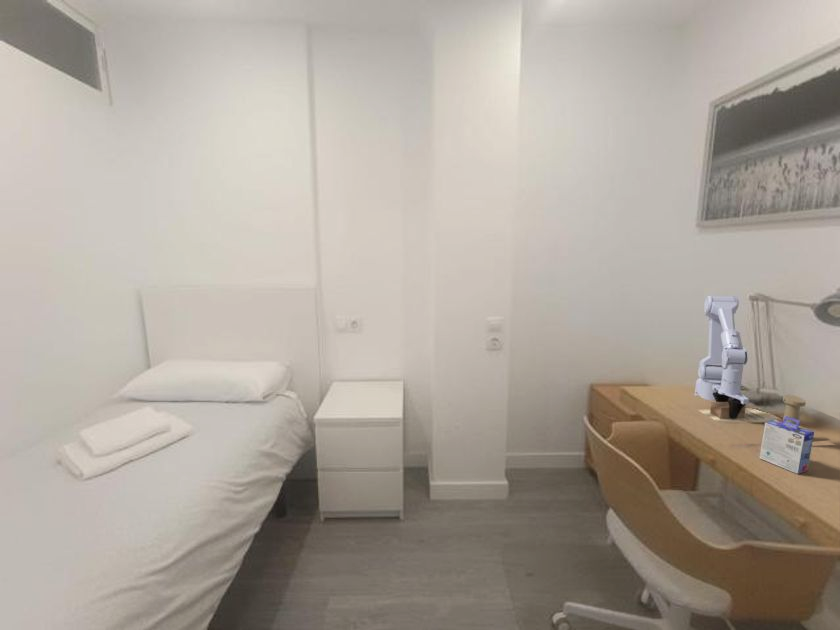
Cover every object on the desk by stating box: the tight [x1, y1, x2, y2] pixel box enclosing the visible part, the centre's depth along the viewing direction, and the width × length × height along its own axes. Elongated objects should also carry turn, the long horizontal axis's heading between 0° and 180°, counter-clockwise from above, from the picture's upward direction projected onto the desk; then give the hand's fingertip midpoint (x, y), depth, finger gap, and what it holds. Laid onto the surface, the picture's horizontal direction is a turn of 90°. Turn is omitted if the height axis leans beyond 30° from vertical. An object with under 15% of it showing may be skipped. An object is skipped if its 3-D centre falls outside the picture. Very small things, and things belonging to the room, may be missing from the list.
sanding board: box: [697, 407, 783, 425], centre depth 149 cm, size 16×28×2 cm, turn 92°
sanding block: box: [709, 401, 746, 419], centre depth 148 cm, size 5×9×4 cm, turn 92°
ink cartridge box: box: [759, 416, 815, 475], centre depth 118 cm, size 10×6×14 cm, turn 24°
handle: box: [782, 394, 807, 424], centre depth 131 cm, size 5×6×15 cm
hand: (727, 414), depth 149 cm, fingers closed on sanding block, 5 cm apart
